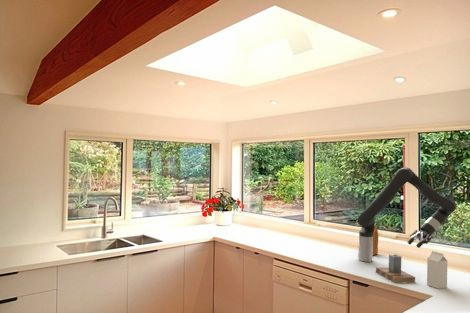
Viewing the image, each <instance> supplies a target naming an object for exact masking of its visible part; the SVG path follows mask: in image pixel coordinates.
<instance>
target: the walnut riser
mask: <svg viewBox="0 0 470 313" xmlns="http://www.w3.org/2000/svg"><path fill="white" fill-rule="evenodd" d="M375 273H377V274H378V275H380V276H382V277H383V276H384V278H385V277H386V278H385V279H387V280H389V281H390V280H391V282H392V283H395V284H397V283H399V284H400V283H401V282H408V283H416V277H415V276H414V275H412V274H410V273H408V272H406V271H404V270H403V269H401V273H392V272H390V271H389V266H385V267H384V266H380V267H379V266H377V267H375ZM401 284H402V283H401Z"/></svg>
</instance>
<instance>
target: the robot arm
mask: <svg viewBox="0 0 470 313" xmlns="http://www.w3.org/2000/svg"><path fill="white" fill-rule="evenodd" d="M406 183H408V184H410V185H412V186H413V187H414V188H415V189H416V190H417V191H418V192H419V193H420V194H421V195H422V196H423V197H424V198H425V199H427V200H428V201H429V202H430V203H432V204H433V205H438V206H439V208H438V209H436V211H435V212H434V213H433V214H431V216H430V217H429V218H428V219H427V220H425V221H424V223H423V224H422V225H421V226H420V227H419V228H420V230H418V229H415V230H413V232H412V233H411V234H409V240H408V241H406V242H407V244H408V245H412V244H413V242H414V241H416V240H419V241H418V243H416V245H415V246H416V247H417V248H418V249H420V248H421V247H422V246H423V245H428V243H429V242H430V241H431V240H432V239H433V234H434V233H435V232H436V231H438V230H439V228H440V226H441V225H442V224H443V223H444V222H445V220H446V219H447V218H448V217H449V216H450V215H451V214H452V213H453V212H455V211H456V209H457V206H456V204H455V203H454V202H453V201H452V200H450V199H449V198H447V197H445V196H443V195H441V194H440V193H439V192H437V191H436V190H435V189H433V188H432V187H431V186H429V184H427V183H425V181H423V180H422V179H421V178H420V177H419V176H418V175H417V174H416V173H415V172H414V171H413V170H412V169H411V168H409V167H406V166H405V167H402V168H400V169H398V170H397V171H396V173H395V175H394V176H393V177H392V178H391V180H390V181H389V182H388V184H387V185H385V186H384V187H383V189H382V190H380V191H379V193H378V194H377V195H376V196H375V198H374V199H373V200H372V202H370V204H369V205H368V206H367V208H365V209H364V210H363V211H362V212H361V213H360V214H359V215H358V216H357V223H358V226H361V228H360V230H359V232H358V234H359V235H358V256H357V257H358V260H359V261H360V262H366V263H372V262H373V256H374V255H373V233H374V227H375V226H376V224H375V223H376V219H375V216H376V215H377V214H379V213H380V212H381V211H383V210H384V209H386V207H388V206H389V204H391V202H393V200H394V199H395V197H396V195H397V193H398V191H399V190H400V189H402V187H403V186H404V185H405V184H406Z"/></svg>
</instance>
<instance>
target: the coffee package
mask: <svg viewBox="0 0 470 313" xmlns="http://www.w3.org/2000/svg"><path fill="white" fill-rule="evenodd" d="M377 254H379V231H378V225H375V227H374V233H373V256H375V255H377Z"/></svg>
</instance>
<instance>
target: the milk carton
mask: <svg viewBox="0 0 470 313" xmlns="http://www.w3.org/2000/svg"><path fill="white" fill-rule="evenodd" d="M426 266H427V267H426V270H427V271H426V272H427V273H426V285H427V286H430V287H431V288H435V289H437V290H438V289H439V290H441V289H445V288H448V260H447V258H446V257H445V255H444V253H440V252H437V251H434V250H432V251H431V252H430V254H429V256H428V257H427V265H426Z"/></svg>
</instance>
